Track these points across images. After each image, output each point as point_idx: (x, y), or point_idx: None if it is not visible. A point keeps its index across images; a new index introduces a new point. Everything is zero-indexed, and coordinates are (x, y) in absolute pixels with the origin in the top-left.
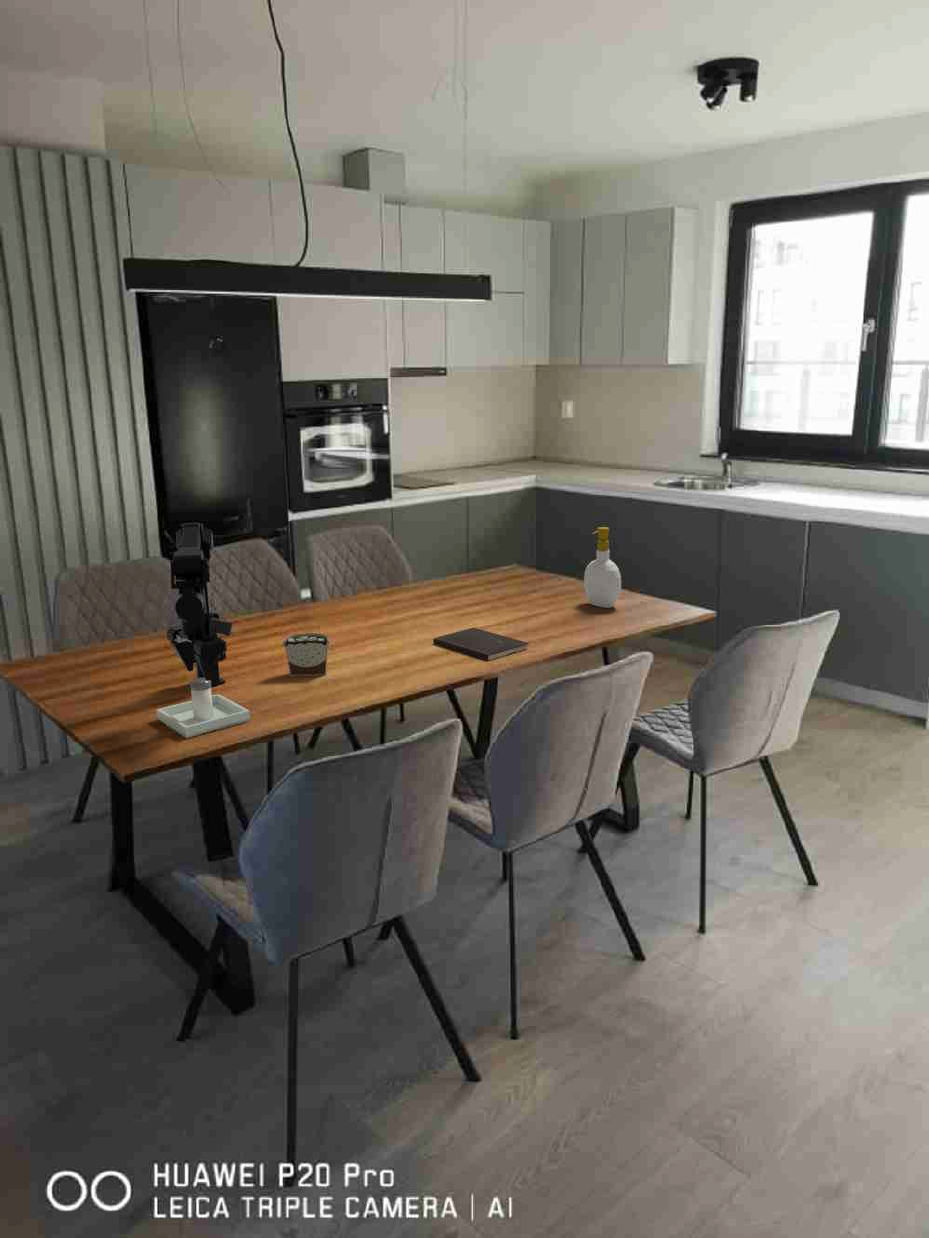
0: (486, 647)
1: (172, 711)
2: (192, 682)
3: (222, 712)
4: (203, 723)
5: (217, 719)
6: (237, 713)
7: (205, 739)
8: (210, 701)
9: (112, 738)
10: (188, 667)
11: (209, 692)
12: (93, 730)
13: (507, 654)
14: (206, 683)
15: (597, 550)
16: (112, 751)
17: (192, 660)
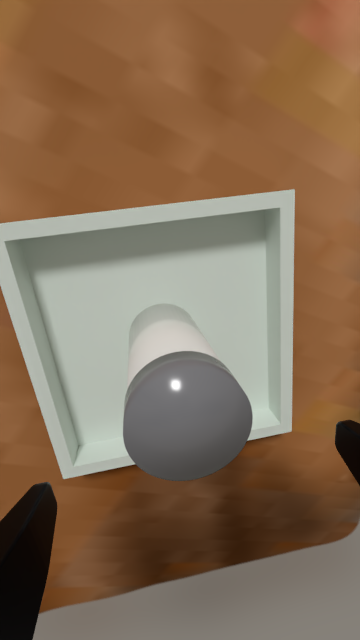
0: None
1: (67, 421)
2: (190, 469)
3: (150, 261)
4: (291, 377)
5: (292, 330)
6: (290, 246)
7: (315, 369)
8: (204, 338)
9: (153, 549)
10: (47, 538)
11: (218, 358)
12: (67, 582)
13: None
14: (250, 404)
15: None
16: (234, 551)
17: (8, 571)
